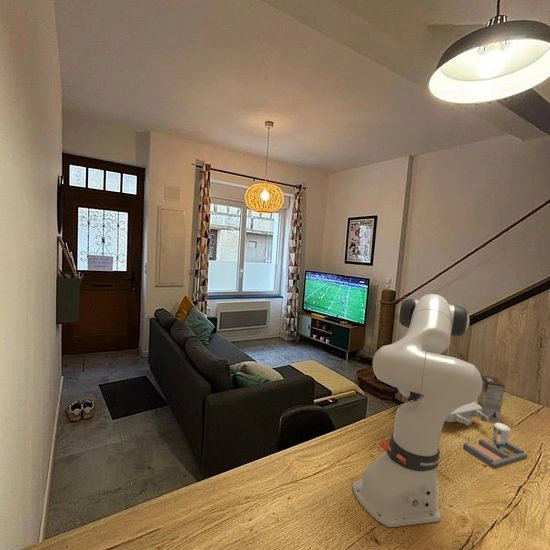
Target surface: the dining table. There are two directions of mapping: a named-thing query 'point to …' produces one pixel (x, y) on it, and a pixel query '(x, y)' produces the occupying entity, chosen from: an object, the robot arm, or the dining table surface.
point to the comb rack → (494, 453)
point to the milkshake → (501, 435)
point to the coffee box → (491, 398)
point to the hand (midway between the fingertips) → (478, 421)
